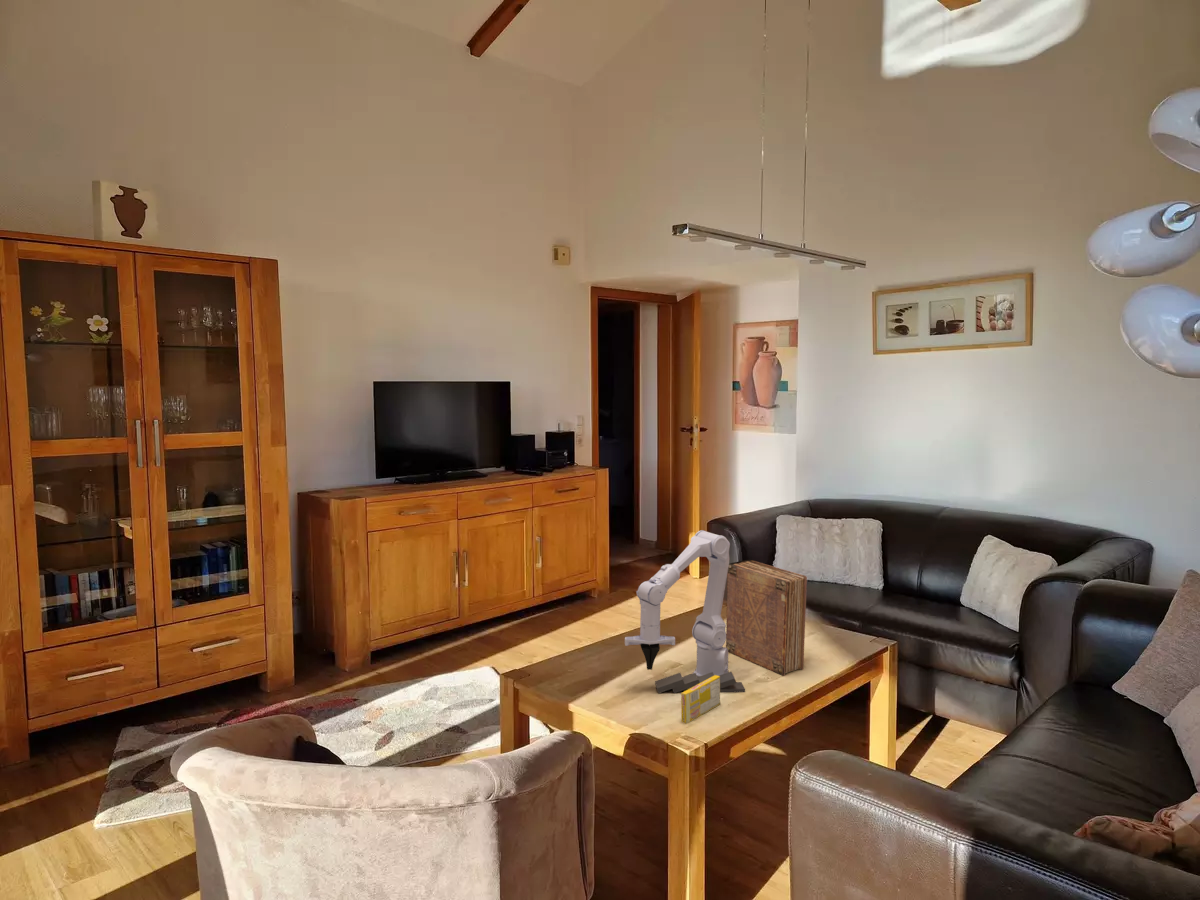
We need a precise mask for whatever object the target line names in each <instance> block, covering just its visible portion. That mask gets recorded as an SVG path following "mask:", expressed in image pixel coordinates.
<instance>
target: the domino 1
mask: <svg viewBox="0 0 1200 900" xmlns="http://www.w3.org/2000/svg"><path fill="white" fill-rule="evenodd" d="M682 677H683V676H682V673H681V672H677V673H674V674H671V675H669V676H665V677H664V678H660V679H657V680H655V681H654V684H655V686H656V687H655V688H656V691H657V693H658V694H660V693H663V692H667V691H670V690H673V688H675V687H678V686H681V685H684V681H683V678H682Z"/></svg>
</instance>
